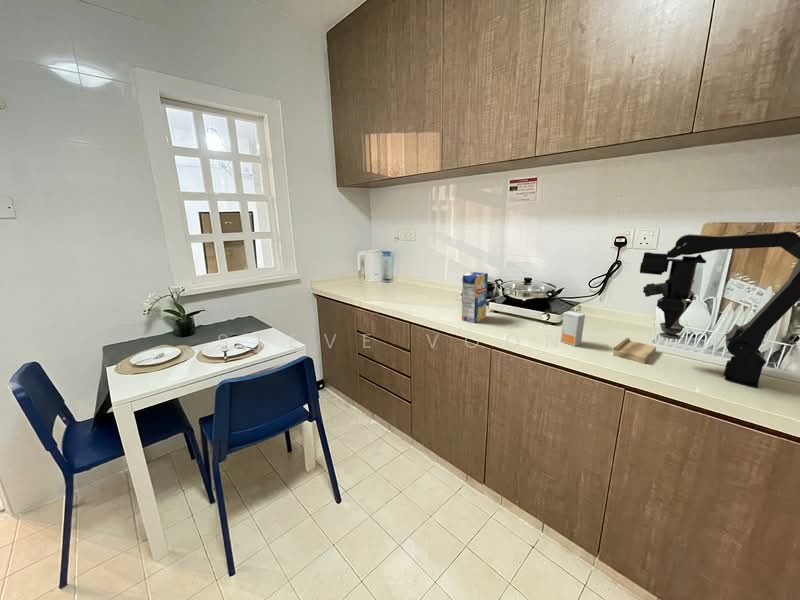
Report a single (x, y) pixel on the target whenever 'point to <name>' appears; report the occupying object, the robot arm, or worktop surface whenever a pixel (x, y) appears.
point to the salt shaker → (671, 330)
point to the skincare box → (572, 328)
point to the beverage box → (474, 296)
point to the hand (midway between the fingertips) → (670, 325)
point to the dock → (634, 351)
